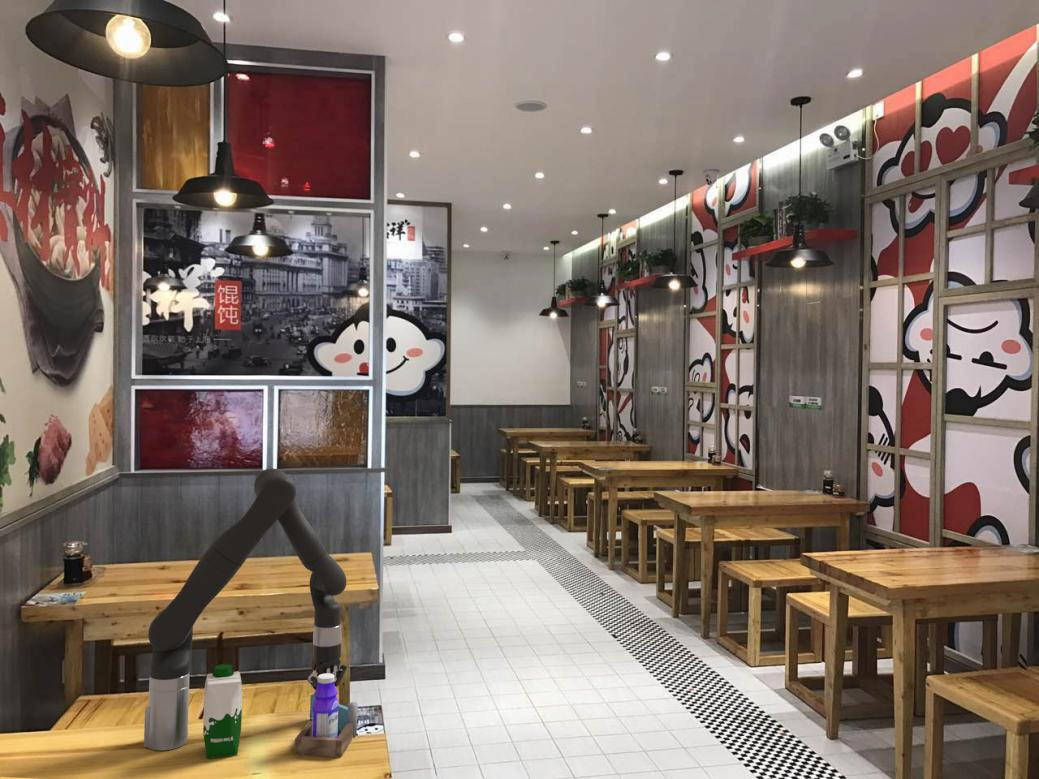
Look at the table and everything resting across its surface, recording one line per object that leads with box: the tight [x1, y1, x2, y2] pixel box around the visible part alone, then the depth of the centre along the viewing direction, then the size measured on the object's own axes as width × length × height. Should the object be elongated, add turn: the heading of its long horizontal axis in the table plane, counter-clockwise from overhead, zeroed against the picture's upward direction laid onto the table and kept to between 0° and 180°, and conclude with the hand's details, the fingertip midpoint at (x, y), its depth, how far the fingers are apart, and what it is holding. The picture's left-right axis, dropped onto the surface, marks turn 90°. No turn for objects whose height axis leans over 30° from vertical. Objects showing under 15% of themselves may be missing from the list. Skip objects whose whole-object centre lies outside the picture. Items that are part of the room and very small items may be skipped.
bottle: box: [311, 673, 339, 738], centre depth 205 cm, size 7×6×17 cm
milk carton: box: [202, 663, 243, 760], centre depth 201 cm, size 9×9×20 cm
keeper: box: [309, 693, 358, 738], centre depth 216 cm, size 18×2×8 cm, turn 50°
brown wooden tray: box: [294, 720, 354, 758], centre depth 204 cm, size 12×11×4 cm
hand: (326, 704), depth 223 cm, fingers closed
